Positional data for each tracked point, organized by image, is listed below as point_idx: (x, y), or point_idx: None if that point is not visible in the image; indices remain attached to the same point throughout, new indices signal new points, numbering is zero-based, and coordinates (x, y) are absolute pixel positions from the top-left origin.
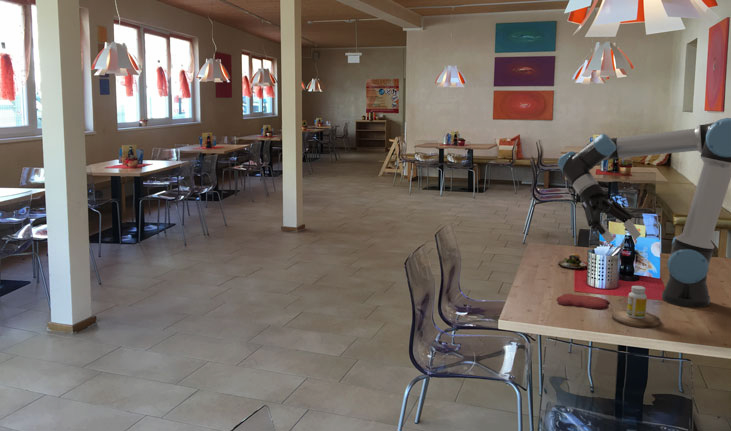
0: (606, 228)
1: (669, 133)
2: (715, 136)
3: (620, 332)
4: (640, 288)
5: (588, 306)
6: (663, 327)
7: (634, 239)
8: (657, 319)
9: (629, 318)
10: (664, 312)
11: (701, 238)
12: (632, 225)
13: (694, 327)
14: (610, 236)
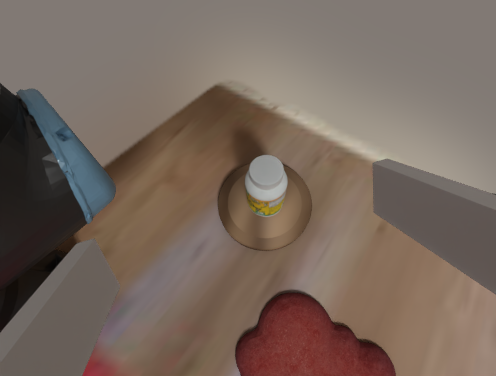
0: (466, 194)
1: None
2: None
3: (335, 154)
4: (268, 159)
5: (323, 311)
6: (239, 161)
7: (118, 286)
8: (232, 179)
9: (287, 191)
10: (162, 237)
11: None
12: (38, 317)
13: (184, 152)
14: (405, 168)
